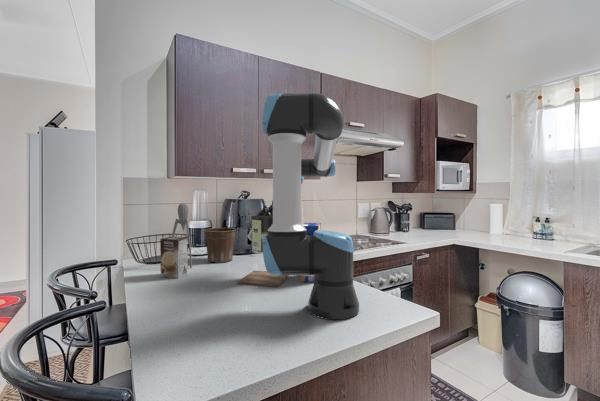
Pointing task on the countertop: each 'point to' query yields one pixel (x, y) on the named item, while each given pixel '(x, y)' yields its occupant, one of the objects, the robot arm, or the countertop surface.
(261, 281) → the walnut board
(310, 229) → the beverage box
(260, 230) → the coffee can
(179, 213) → the citrus juicer
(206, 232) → the plant pot
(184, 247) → the coffee box
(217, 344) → the countertop surface
